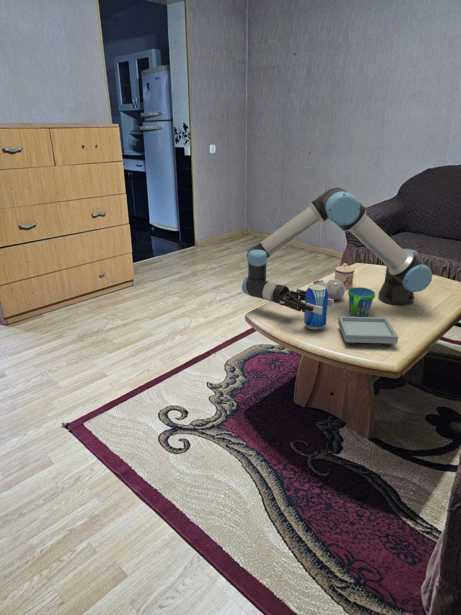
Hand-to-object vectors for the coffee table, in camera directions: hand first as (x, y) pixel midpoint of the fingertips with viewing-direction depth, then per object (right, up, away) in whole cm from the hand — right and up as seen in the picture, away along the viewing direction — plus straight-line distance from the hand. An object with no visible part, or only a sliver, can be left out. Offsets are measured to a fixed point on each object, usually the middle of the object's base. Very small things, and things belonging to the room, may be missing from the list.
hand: (327, 306), depth 162 cm
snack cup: (+17, -3, +20) cm, 26 cm away
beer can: (-4, -7, +6) cm, 10 cm away
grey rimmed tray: (+14, -12, -1) cm, 18 cm away
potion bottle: (+8, +4, +37) cm, 38 cm away
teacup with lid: (+20, +10, +51) cm, 55 cm away
